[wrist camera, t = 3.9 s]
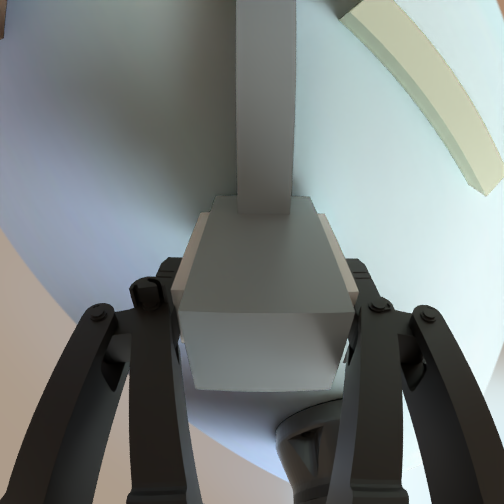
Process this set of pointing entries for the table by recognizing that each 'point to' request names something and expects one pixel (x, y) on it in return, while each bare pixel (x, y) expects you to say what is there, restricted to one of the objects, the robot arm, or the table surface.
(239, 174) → the crook
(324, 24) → the table surface
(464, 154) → the plain stick
